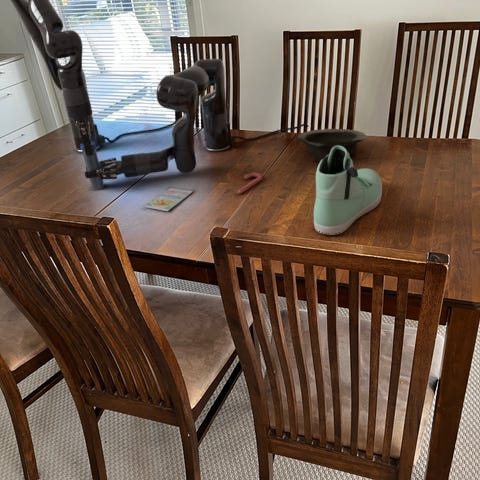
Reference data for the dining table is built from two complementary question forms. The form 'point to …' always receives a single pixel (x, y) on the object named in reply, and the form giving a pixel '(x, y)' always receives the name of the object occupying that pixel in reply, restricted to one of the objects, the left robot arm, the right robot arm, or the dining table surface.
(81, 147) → the lid
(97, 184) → the jar
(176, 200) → the baking ingredient package
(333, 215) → the sneaker
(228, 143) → the right robot arm
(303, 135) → the stone bowl
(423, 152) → the dining table surface
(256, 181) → the candy cane
